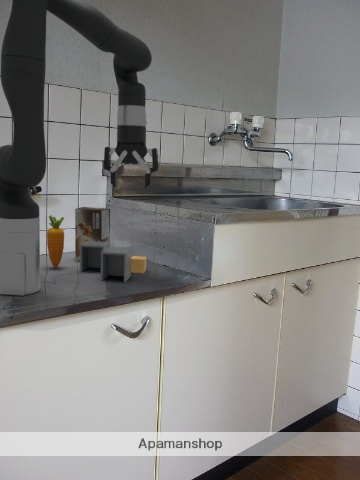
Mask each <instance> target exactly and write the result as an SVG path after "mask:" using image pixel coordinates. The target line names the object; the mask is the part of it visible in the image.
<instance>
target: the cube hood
mask: <svg viewBox="0 0 360 480" xmlns="http://www.w3.org/2000/svg"><path fill="white" fill-rule="evenodd" d="M131 257H132V248H119V247H110V248H106V249H105V250H103V251H102V252H101V268H100V281H103V280H105V279H106V278H107V277H108V276H112V277H113V276H114V277H123V282H124V283H126V282H127V281H128V280H129V279H130V278H131V276H132V273H131Z"/></svg>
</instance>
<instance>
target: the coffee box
mask: <svg viewBox="0 0 360 480" xmlns="http://www.w3.org/2000/svg"><path fill="white" fill-rule="evenodd" d="M74 218H75V219H74V224H75V225H74V235H75V236H74V237H75V238H74V239H75V240H74V241H75V242H74V244H75V247H74V250H75V262H80V245H81V244H83V243H84V242H86V241H95V242H109V248H111V208H104V207H92V206H91V207H90V206H89V207H88V206H83V207H82V206H81V207H77V208H75V209H74Z"/></svg>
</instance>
